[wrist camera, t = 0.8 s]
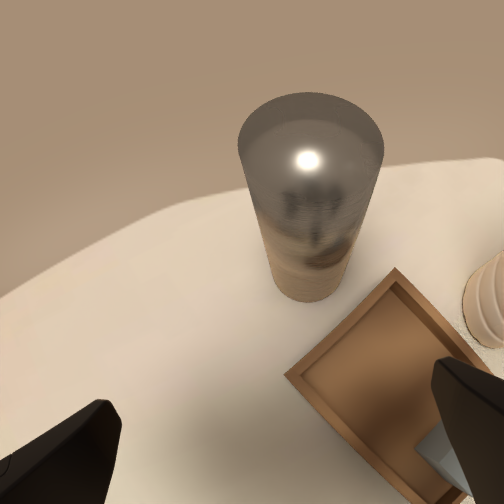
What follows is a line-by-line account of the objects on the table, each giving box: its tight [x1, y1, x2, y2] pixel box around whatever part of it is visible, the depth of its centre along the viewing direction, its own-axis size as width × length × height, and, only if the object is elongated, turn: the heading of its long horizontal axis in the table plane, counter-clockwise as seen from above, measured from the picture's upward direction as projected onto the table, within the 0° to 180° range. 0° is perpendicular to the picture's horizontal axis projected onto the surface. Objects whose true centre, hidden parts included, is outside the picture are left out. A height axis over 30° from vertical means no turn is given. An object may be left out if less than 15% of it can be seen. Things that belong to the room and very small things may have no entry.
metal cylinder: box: [238, 92, 384, 303], centre depth 16 cm, size 5×5×13 cm
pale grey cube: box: [414, 419, 473, 497], centre depth 12 cm, size 4×4×4 cm
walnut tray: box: [284, 267, 493, 504], centre depth 16 cm, size 15×9×3 cm, turn 40°
